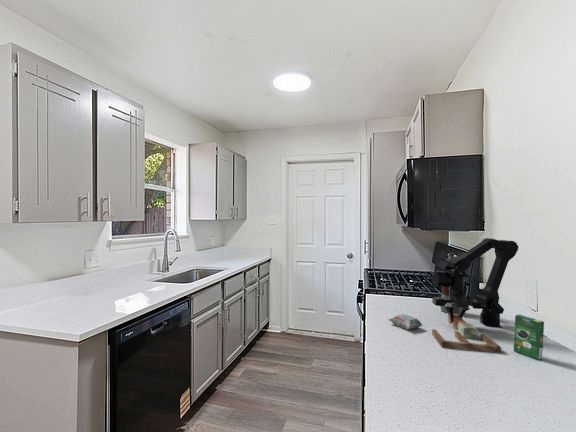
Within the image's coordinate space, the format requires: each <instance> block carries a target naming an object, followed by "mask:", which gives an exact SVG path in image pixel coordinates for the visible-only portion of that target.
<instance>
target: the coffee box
mask: <svg viewBox="0 0 576 432" xmlns="http://www.w3.org/2000/svg"><path fill="white" fill-rule="evenodd" d="M514 317H515V318H514V333H513V334H514V335H513V336H514V337H513V338H514V339H513V352H515V353H518V354H521V355H524V356H527V357H528V358H531V359H533V360H537V361H541V360H542V359H543V353H544V352H543V351H544V349H543V348H544V334H545V333H544V332H545V331H544V330H545V329H544V328H545V321H544V320H543V321H542V320H540V319H536V318H532V317H530V316H529V317H528V316H525V315H522V314H516V315H515V316H514Z"/></svg>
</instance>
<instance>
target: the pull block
mask: <svg viewBox="0 0 576 432" xmlns="http://www.w3.org/2000/svg"><path fill="white" fill-rule="evenodd" d="M447 315H448V316H447V322H448V324H450V323H452V324H453V325H454V327H455V329H457V332H460V333H461V334H462V335H463V336H464V337H465V338H466V339H473V338H474V340H477V339H478V327H476V326H475V325H473V324H472V323H468V322H467V321H466V320H464V319H463V317H462V318H461V317H459V316H458V314H453V322H452V321H451V319H450V316H449V314H447ZM452 324H451V325H452ZM453 325H452V326H453Z"/></svg>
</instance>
